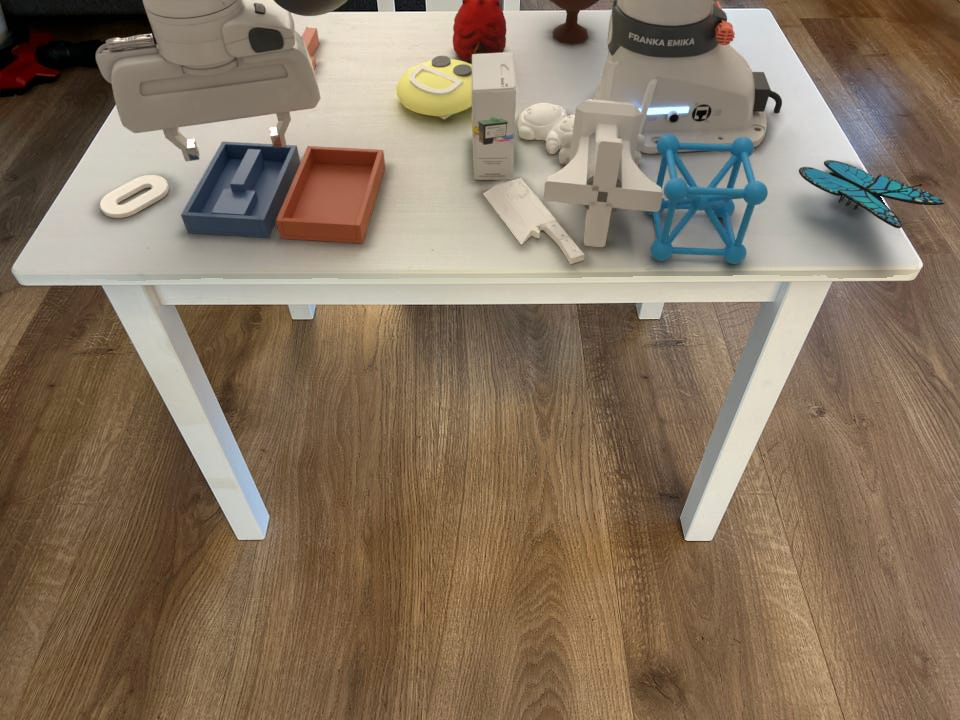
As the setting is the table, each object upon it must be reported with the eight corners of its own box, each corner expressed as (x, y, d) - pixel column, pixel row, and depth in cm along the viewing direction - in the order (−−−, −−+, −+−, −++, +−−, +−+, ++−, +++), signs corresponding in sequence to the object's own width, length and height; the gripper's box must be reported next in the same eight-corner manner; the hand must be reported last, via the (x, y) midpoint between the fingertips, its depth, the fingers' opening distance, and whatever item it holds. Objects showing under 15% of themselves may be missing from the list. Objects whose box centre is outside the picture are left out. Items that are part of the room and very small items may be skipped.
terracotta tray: (385, 167, 92) (383, 149, 90) (362, 243, 83) (360, 225, 81) (311, 163, 92) (307, 145, 90) (280, 238, 83) (275, 220, 81)
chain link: (115, 219, 84) (91, 201, 86) (117, 223, 85) (93, 206, 87) (175, 186, 88) (151, 169, 90) (177, 190, 89) (152, 173, 91)
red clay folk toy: (504, 45, 112) (506, -65, 101) (507, 69, 107) (510, -43, 96) (452, 46, 112) (449, -63, 100) (454, 70, 107) (450, -42, 96)
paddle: (274, 165, 91) (270, 149, 90) (246, 223, 84) (241, 207, 82) (243, 163, 91) (238, 148, 90) (213, 221, 84) (208, 205, 83)
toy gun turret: (551, 125, 72) (560, 52, 85) (538, 240, 82) (549, 159, 95) (676, 136, 72) (667, 61, 85) (650, 252, 81) (645, 168, 94)
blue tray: (300, 162, 92) (296, 145, 91) (268, 238, 83) (263, 219, 81) (227, 159, 93) (221, 141, 91) (187, 233, 84) (180, 215, 82)
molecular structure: (754, 132, 79) (657, 129, 79) (773, 191, 72) (667, 186, 73) (730, 210, 86) (642, 206, 87) (745, 269, 80) (649, 265, 80)
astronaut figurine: (572, 168, 92) (575, 146, 89) (503, 128, 97) (504, 107, 95) (619, 140, 95) (623, 118, 93) (550, 103, 101) (551, 82, 99)
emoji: (446, 110, 94) (503, 65, 99) (375, 81, 99) (433, 39, 104) (449, 137, 97) (504, 91, 102) (380, 108, 102) (436, 65, 107)
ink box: (471, 140, 96) (470, 50, 87) (511, 140, 96) (513, 50, 87) (472, 181, 90) (471, 89, 81) (514, 180, 90) (517, 88, 81)
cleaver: (541, 273, 79) (542, 265, 78) (483, 195, 88) (483, 187, 88) (584, 260, 81) (585, 252, 80) (522, 183, 90) (522, 175, 89)
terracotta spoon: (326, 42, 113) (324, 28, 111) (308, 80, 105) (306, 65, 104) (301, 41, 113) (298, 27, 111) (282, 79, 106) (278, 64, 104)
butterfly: (880, 254, 76) (910, 211, 73) (769, 193, 82) (793, 150, 79) (931, 224, 90) (958, 186, 87) (832, 173, 95) (854, 136, 92)
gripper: (85, 57, 69) (137, 182, 80) (309, 29, 73) (331, 153, 83) (90, 26, 73) (139, 149, 84) (302, 1, 77) (324, 123, 87)
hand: (236, 151), depth 84 cm, fingers open, 8 cm apart
